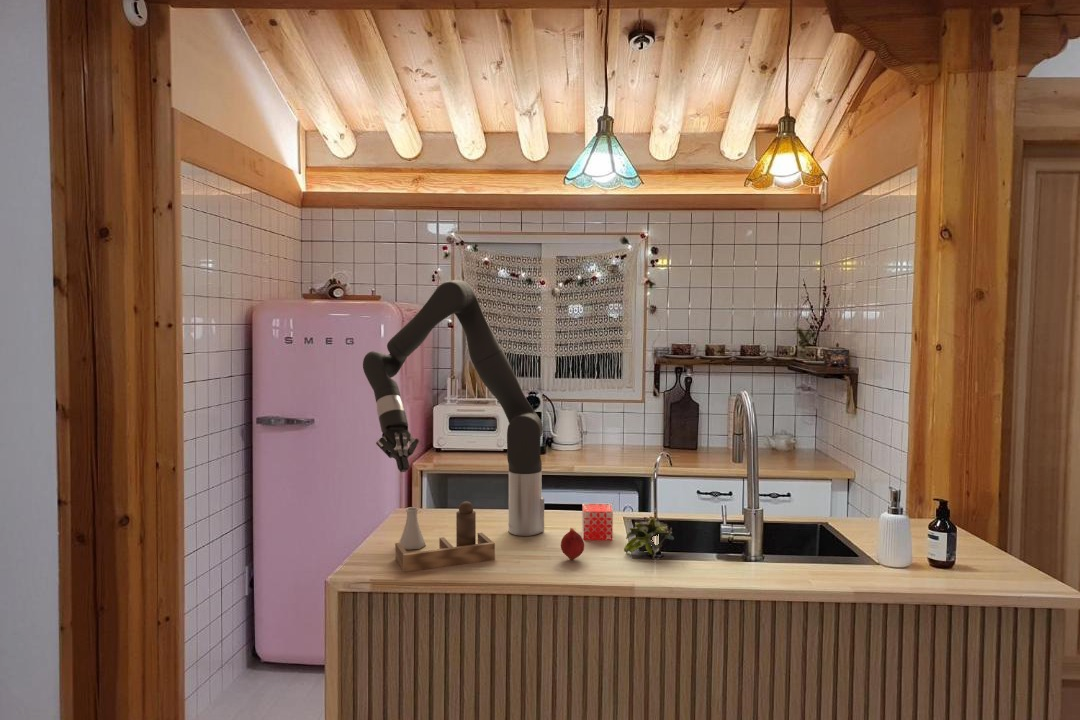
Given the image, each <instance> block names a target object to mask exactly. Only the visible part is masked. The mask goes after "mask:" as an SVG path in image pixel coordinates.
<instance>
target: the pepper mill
mask: <svg viewBox="0 0 1080 720" xmlns="http://www.w3.org/2000/svg"><path fill="white" fill-rule="evenodd" d="M476 513H477V512H476V511H475V510H474V505H473V504H472V502H470V501H468V500H467V501H465V500H464V501H462V502H461V503H460V504H459V506H458V511H456V517H455V518H456V520H455V521H456V526H455V527H456V534H455V535H456V537H455V538H456V541H455V543H456V544H455V545H456V546H455V547H459V546H467V545H474V544H477V543H476V542H477V541H476V539H477V537H476V536H477V535H476V531H477V530H476V527H477V526H476V525H477V523H476V522H477V521H476V520H477V519H476V518H477V515H476Z"/></svg>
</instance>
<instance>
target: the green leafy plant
mask: <svg viewBox="0 0 1080 720" xmlns="http://www.w3.org/2000/svg"><path fill="white" fill-rule="evenodd" d="M655 518H657V520H655ZM643 519H644V521H640V522H635V523H634V527H629V530H630V531H628V532H627V535H626V537H625V539H627V540H628V539H629V538H631V537H633V538H632V539H629V541H628V542H627V544H625V547H624V549H623V552H625V554H628V553H629V552H630V553H632V552H635V551H637V550H638V549H640V548H642V547H644V546H645V549H646V551H647V553H648V554H650V555H652V560H654V558H655V556H656V553H657V551H658V549H660V548H662V547H663V542H664V541H665V539H668V540H670V541H674V539H675V537H674V536H673V535H672V534H673V532H672V531H673V527H670V529H669V525H668V524H667V523H665V522H661V521H660V520H659V517H655V516H648V517H647V516H644V517H643ZM658 534H659V544H658V545H655V544H654V542H652V541H653V540H652V537H653V536H656V535H657V536H658ZM634 536H636V537H634ZM651 540H652V541H651ZM651 545H652V546H651Z"/></svg>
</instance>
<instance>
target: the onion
mask: <svg viewBox="0 0 1080 720" xmlns="http://www.w3.org/2000/svg"><path fill="white" fill-rule="evenodd" d="M584 541H585V540H583V536H581V535H580V533H579V532H577V531H576V530H575V529H574V528H573V527H570V529H569V531H567V533H566V534H564V535H563V537H562V539H561V542H560V550H561V552H562V553H563V554H564V555H565V556H566V557H567V558H568V559H569V560H571V561H574V560H575V559H576V558H579V557H580V556H581V555H582V554H583V553H584V550H585V542H584Z"/></svg>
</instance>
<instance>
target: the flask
mask: <svg viewBox="0 0 1080 720" xmlns="http://www.w3.org/2000/svg"><path fill="white" fill-rule="evenodd" d="M405 511H406V520H405V523H404V524H405V525H404V529H403V531H402V534H401V535H400V540H399V542H398V543H401V544H402V546H403V547H404V549H405V550H406V551H408V550H410V551H411V550H420V549H422V548H424V547H426V542H425V541H426V540H425V539H424V536H423V534H422V531H421V527H420V525H419V521H418V511H419V509H418V507H414V506H412V507H411V506H410V507H405Z"/></svg>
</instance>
